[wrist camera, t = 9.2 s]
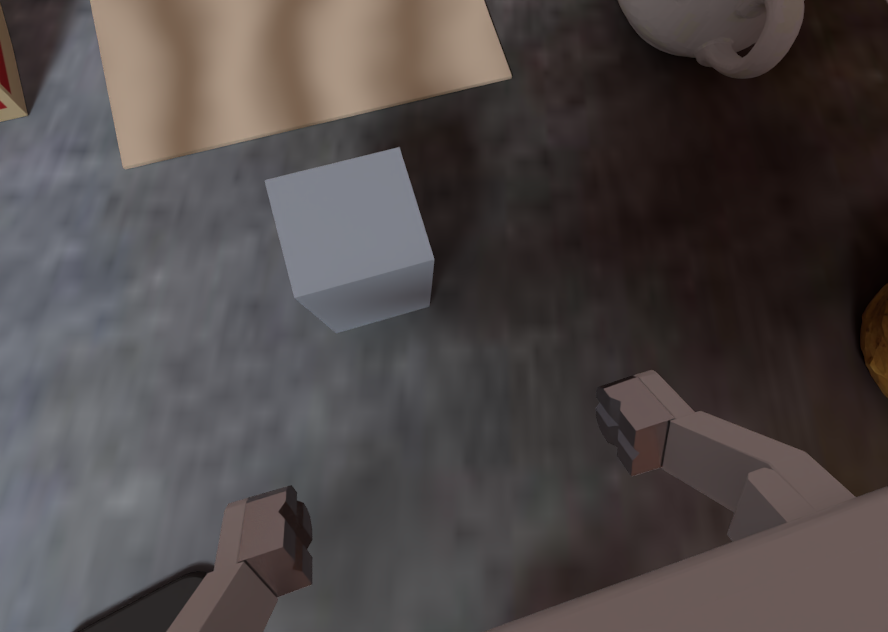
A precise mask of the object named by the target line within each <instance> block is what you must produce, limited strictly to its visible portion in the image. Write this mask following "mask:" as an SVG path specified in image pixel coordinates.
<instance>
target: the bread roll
mask: <svg viewBox="0 0 888 632" xmlns="http://www.w3.org/2000/svg"><path fill="white" fill-rule="evenodd" d="M860 347H861V350H862V352H863V355H864V359H865V364H866V366H867V368H868V369H869V371H870V374H871V376H872V378H873V379H874V381H875V382H876V383H877V385H878V386H879V388H880V390H881V391H882V392H883V394H884V395H885V396H886V397H887V398H888V283H887V284H886V285H884V286H883V287H882V288H881V290H880V291H879V292H878V293H877V294H876V295H875V296H874V298H873V299H872V300H871V302H870V303H869V304H868V306H867V307H866V308H865V311H864V313H863V314H862V325H861V333H860Z"/></svg>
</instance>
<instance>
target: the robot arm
mask: <svg viewBox="0 0 888 632" xmlns="http://www.w3.org/2000/svg"><path fill="white" fill-rule="evenodd" d="M596 398H597V399H598V401H599V402H600V404H599V405H598V406H597V408H596V419H597V423H598V426H599V429H600V431H601V433H602V435H603V436H604V438H605V439H606V441H607V442H608V443H610V444H612V445H614V446H616V447H617V457H618V458H619V460H620V461H621V463H622V464H623V466H624V467H625V468H626V470H627V471H628V473H629V474H630V476H631V477H632V476H635V475H638V474H641V473H645V472H648V471H651V470H654V469H658V468H661V467H662V469H663V470H665V471H667V472H668V473H670V474H672V475H673V476H675V477H677V478H678V479H680V480H682V481H683V482H685V483H687V484H688V485H690V486H692V487H693V488H695V489H697V490H698V491H700V492H702V493H703V494H705V495H706V496H708V497H710V498H711V499H713V500H715V501H716V502H718V503H720V504H721V505H723V506H725V507H726V508H728V509H730V510H731V511H733V512H734V515H733V518H732V521H731V524H730V527H729V530H728V536H729V537H730V538H731V540H732V541H733V542H731V543H728V544H725V545H723V546H720V547H717V548H714V549H712V550H709V551H706V552H703V553H700V554H698V555H695V556H692V557H689V558H687V559H684V560H681V561H678V562H675V563H673V564H670V565H667V566H664V567H662V568H659V569H656V570H653V571H650V572H648V573H645V574H642V575H639V576H637V577H634V578H631V579H628V580H626V581H623V582H620V583H617V584H614V585H612V586H609V587H606V588H603V589H601V590H598V591H595V592H592V593H589V594H587V595H584V596H581V597H578V598H576V599H573V600H570V601H567V602H564V603H562V604H559V605H556V606H553V607H551V608H548V609H545V610H542V611H539V612H537V613H534V614H531V615H528V616H526V617H523V618H520V619H517V620H515V621H512V622H509V623H506V624H503V625H501V626H498V627H495V628H492V629H490V630H487V631H484V632H888V486H887V487H884V488H881V489H878V490H875V491H873V492H870V493H867V494H864V495H862V496H859V497H855V496H854V495H853V494H852V493H851V492H849V491H848V490H847V489H846V488H845V487H844V486H843V485H842V484H841V483H839V482H838V481H837V480H836V479H835V478H834V477H833V476H832V475H830V474H829V473H828V472H827V471H826V470H825V469H824V468H823V467H822V466H820V465H819V464H818V463H817V462H816V461H815V460H814V459H813V458H812V457H810V456H809V455H808V454H807V453H806V452H804V451H802V450H799V449H797V448H794V447H791V446H789V445H786V444H784V443H781V442H779V441H776V440H774V439H771V438H768V437H766V436H763V435H761V434H758V433H756V432H753V431H751V430H748V429H746V428H743V427H740V426H738V425H735V424H733V423H730V422H728V421H725V420H723V419H720V418H717V417H715V416H712V415H710V414H707V413H705V412H702V411H698V412H694V411H693V410H692V409H691V408H690V407H689V405H688V404H687V403H686V402H685V401H684V400H683V399H682V398H681V397H680V396H679V395H678V394H677V393H676V392H675V391H674V390H673V389H672V388H671V387H670V386H669V385H668V384H667V383H666V382H665V381H664V380H663V379H662V378H661V377H660V376H659V374H658V373H657V372H655V371H653V370H649V371H646V372H643V373H640V374H637V375H634V376H629V377H626V378H623V379H620V380H617V381H614V382H611V383H608V384H605V385H602V386H599V387H598V388H597V390H596ZM311 541H312V525H311V519H310V515H309V512H308V510H307V508H306V506H305V504H304V503H303V502H300V501H297V492H296V491H295V489H294V488H293V487H292V485H291V486H287V487H283V488H280V489H276V490H273V491H269V492H266V493H262V494H259V495H256V496H252V497H249V498H246V499H242V500H239V501H236V502H232V503H229V504H228V505H227V507H226V509H225V511H224V516H223V521H222V527H221V533H220V538H219V544H218V549H217V555H216V561H215V566H214V571H212V572H210V573H207V575H206V576H205V577H204V579H203V580H202V582H201V583H200V584H199V586H198V587H197V589H196V590H195V592H194V593H193V594H192V596H191V597H190V599H189V600H188V602H187V603H186V604H185V606H184V607H183V609H182V610H181V612H180V613H179V614H178V616H177V617H176V619H175V620H174V621H173V623H172V624H171V626H170V627H169V629H168V630H167V631H166V632H263V631H264V629H265V626H266V624H267V622H268V620H269V618H270V616H271V614H272V612H273V609H274V607H275V605H276V603H277V601H278V598H277V597H280V596H283V595H285V594H288V593H291V592H294V591H296V590H299V589H302V588H304V587H307V586H310V585H312V556H311V555H310V553H309V552H308V550H307V548H308V546H309V545H310V543H311Z"/></svg>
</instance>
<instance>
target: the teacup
mask: <svg viewBox="0 0 888 632" xmlns="http://www.w3.org/2000/svg"><path fill="white" fill-rule="evenodd" d="M804 1H805V0H618V3H619V5H620V7H621V9H622V11H623V13H624V14H625V16H626V18H627V19H628V21H629V23H630V25H631V26H632V27H633V29H634V30H635V31H636V33H637V34H638V35H639V36H640V37H641V38H642V39H643V40H645V41H646V42H647V43H649V44H650V45H652V46H653V47H655V48H657V49H659V50H661V51H663V52H666V53H669V54H672V55H677V56H684V57H691V58H696V60H697V62H698V63H699V64H701V65H703V66H706V67H713V68H714V69H715V70H717V71H718V72H719V73H721V74H723V75H725V76H727V77H731V78H739V79H745V78H753V77H757V76H760V75H762V74H764V73H766V72H768V71H769V70H771V69H772V68H773V67H774V66H775V65H776V64H777V63H778V62H779V61H780V60H781V59H782V58H783V57H784V56H785V55H786V53H787V52H788V51H789V49H790V47H791V46H792V44H793V42H794V40H795V39H796V37H797V35H798V33H799V30H800V27H801V24H802V21H803V15H804ZM754 43H756V44H755V45H754V47H753V48H752V49H751V51H750V52H749V53H748V54H747V55H746V56H744V57H743V58H742V57H740V56H739V55H738V54H737V53H736V52H739V51H741V50H743V49H745V48H747V47H749V46H751V45H752V44H754Z"/></svg>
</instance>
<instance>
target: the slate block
mask: <svg viewBox="0 0 888 632" xmlns="http://www.w3.org/2000/svg"><path fill="white" fill-rule="evenodd" d="M265 184H266V188H267V192H268V196H269V200H270V204H271V208H272V212H273V216H274V219H275V223H276V227H277V231H278V235H279V239H280V243H281V247H282V251H283V255H284V259H285V263H286V267H287V271H288V275H289V279H290V283H291V286H292V290H293V294H294V298H295V299H296V300H297V301H299V302H300V303H301V304H302V305H303V306H305V307H306V308H307V309H308V310H309V311H310V312H312V313H313V314H314V315H315V316H316V317H318V318H319V319H320V320H321V321H322V322H324V323H325V324H326V325H327V326H328V327H330V328H331V329H332V330H333V331H334V332H335V333H339V332H342V331H346V330H349V329H353V328H356V327H360V326H363V325H367V324H370V323H374V322H377V321H381V320H384V319H388V318H391V317H395V316H398V315H402V314H405V313H409V312H412V311H416V310H419V309H423V308H426V307H430V297H431V288H432V278H433V269H434V256H433V253H432V250H431V247H430V243H429V240H428V237H427V234H426V231H425V227H424V224H423V221H422V218H421V215H420V211H419V208H418V205H417V202H416V199H415V195H414V192H413V189H412V186H411V183H410V179H409V176H408V173H407V170H406V167H405V163H404V160H403V157H402V154H401V151H400V147H398V148H394V149H390V150H386V151H382V152H378V153H373V154H369V155H365V156H361V157H357V158H353V159H349V160H345V161H341V162H337V163H333V164H329V165H325V166H321V167H317V168H313V169H309V170H305V171H301V172H297V173H292V174H288V175H284V176H280V177H276V178H272V179H268V180H265Z"/></svg>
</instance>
